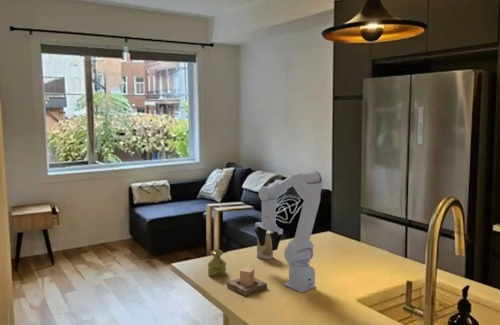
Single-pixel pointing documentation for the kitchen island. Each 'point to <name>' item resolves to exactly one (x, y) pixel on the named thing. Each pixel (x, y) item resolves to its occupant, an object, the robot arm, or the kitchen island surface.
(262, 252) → the skincare box
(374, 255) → the kitchen island surface
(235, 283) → the socket block
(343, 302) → the kitchen island surface
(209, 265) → the olive green textured figure
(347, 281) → the kitchen island surface
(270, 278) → the kitchen island surface
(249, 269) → the peg
